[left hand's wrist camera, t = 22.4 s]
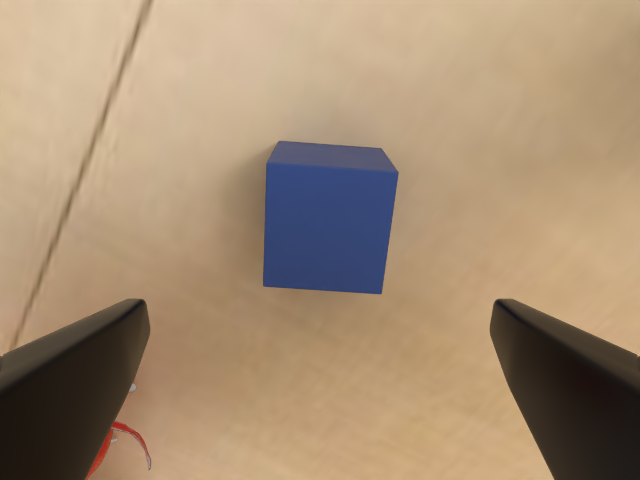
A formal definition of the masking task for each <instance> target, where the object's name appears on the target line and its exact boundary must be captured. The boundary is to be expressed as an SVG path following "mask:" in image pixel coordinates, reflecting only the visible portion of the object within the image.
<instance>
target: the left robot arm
mask: <svg viewBox="0 0 640 480" xmlns="http://www.w3.org/2000/svg"><path fill="white" fill-rule="evenodd" d="M149 335H150V323H149V317H148V311H147V305H146V302H145V301H144V300H143V299H126V300H124V301H122V302H120V303H117V304H115V305H113V306H111V307H108V308H106V309H104V310H102V311H100V312H97V313H95V314H93V315H91V316H88V317H86V318H84V319H82V320H79V321H77V322H75V323H73V324H71V325H68V326H66V327H64V328H62V329H59V330H57V331H55V332H53V333H50V334H48V335H46V336H44V337H41V338H39V339H37V340H35V341H33V342H30V343H28V344H26V345H24V346H21V347H19V348H17V349H15V350H12V351H10V352H8V353H6V354H4V355H3V356H2V357H1V356H0V480H86V478H87V476H88V474H89V472H90V470H91V468H92V465H93V463H94V461H95V459H96V457H97V455H98V453H99V451H100V449H101V447H102V445H103V443H104V441H105V439H106V437H107V435H108V433H109V431H110V429H111V427H112V425H113V423H114V421H115V419H116V417H117V415H118V413H119V411H120V409H121V407H122V405H123V403H124V400H125V398H126V396H127V394H128V392H129V390H130V388H131V386H132V383H133V381H134V378H135V375H136V373H137V370H138V367H139V364H140V361H141V358H142V356H143V353H144V350H145V347H146V344H147V341H148V338H149ZM490 335H491V338H492V341H493V344H494V347H495V350H496V353H497V356H498V358H499V361H500V364H501V367H502V370H503V373H504V375H505V378H506V381H507V383H508V386H509V388H510V390H511V392H512V394H513V396H514V398H515V401H516V403H517V405H518V407H519V409H520V411H521V413H522V415H523V417H524V419H525V421H526V423H527V425H528V427H529V429H530V431H531V433H532V435H533V437H534V439H535V441H536V443H537V445H538V447H539V449H540V451H541V453H542V455H543V457H544V459H545V461H546V463H547V466H548V468H549V470H550V472H551V474H552V476H553V478H554V480H640V356H639V357H638V356H637V355H636V354H634V353H632V352H630V351H628V350H625V349H623V348H621V347H619V346H616V345H614V344H612V343H610V342H607V341H605V340H603V339H601V338H599V337H596V336H594V335H592V334H590V333H587V332H585V331H583V330H581V329H578V328H576V327H574V326H572V325H569V324H567V323H565V322H563V321H561V320H558V319H556V318H554V317H552V316H549V315H547V314H545V313H543V312H540V311H538V310H536V309H534V308H532V307H529V306H527V305H525V304H523V303H520V302H518V301H516V300H514V299H497V300H496V301H495V302H494V305H493V311H492V317H491V323H490Z"/></svg>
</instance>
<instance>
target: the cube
mask: <svg viewBox="0 0 640 480" xmlns="http://www.w3.org/2000/svg"><path fill="white" fill-rule="evenodd" d="M397 180H398V171H397V170H396V168H395V167H394V165H393V164H392V163H391V161H390V160H389V158H388V157H387V155H386V154H385V153H384V151H383V150H382V149H381V148H368V147H354V146H341V145H327V144H314V143H300V142H287V141H279V142H278V144H277V146H276V147H275V149H274V151H273V153H272V154H271V156H270V158H269V160H268V162H267V166H266V201H265V237H264V273H263V286H264V287H279V288H294V289H309V290H324V291H339V292H354V293H370V294H381V293H382V287H383V280H384V273H385V266H386V258H387V251H388V244H389V237H390V230H391V223H392V215H393V208H394V201H395V194H396V187H397Z"/></svg>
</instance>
